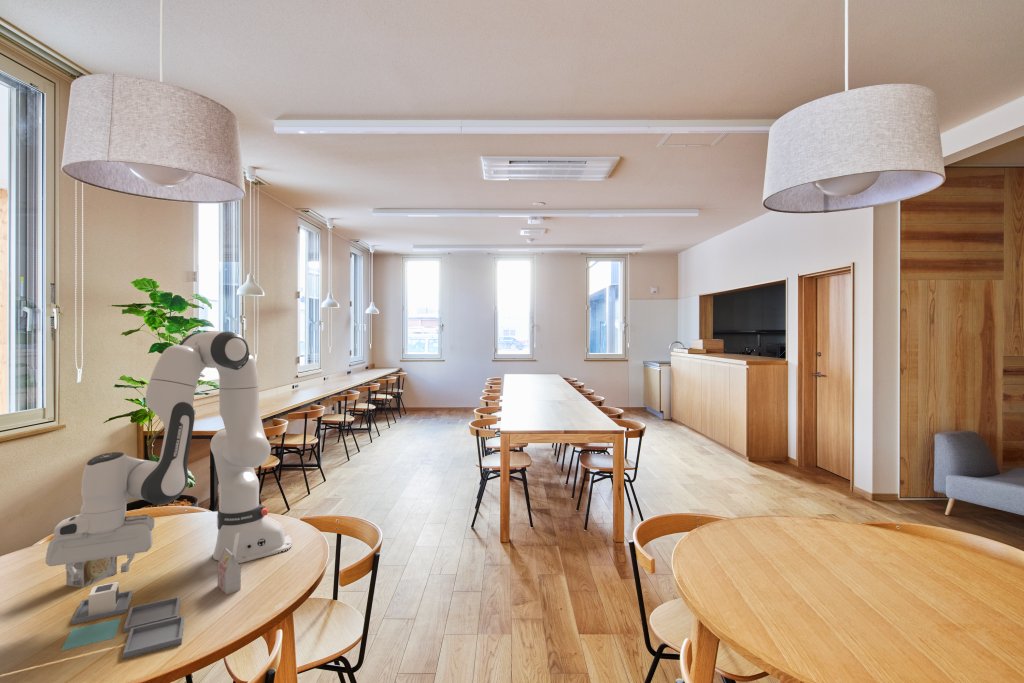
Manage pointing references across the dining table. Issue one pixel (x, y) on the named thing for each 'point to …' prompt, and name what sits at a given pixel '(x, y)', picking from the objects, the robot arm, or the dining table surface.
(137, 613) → the dish
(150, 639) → the dish
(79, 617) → the dish
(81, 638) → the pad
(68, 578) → the coffee box
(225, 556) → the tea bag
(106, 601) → the white cube
